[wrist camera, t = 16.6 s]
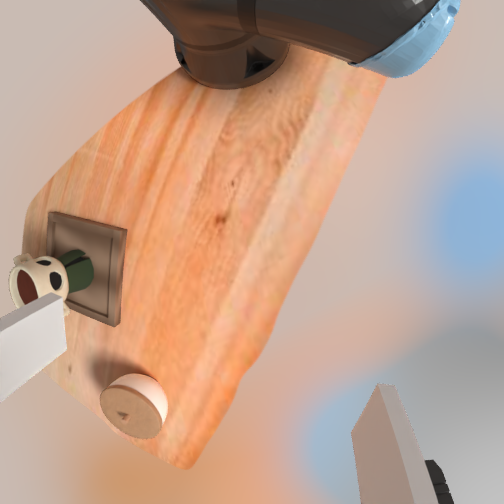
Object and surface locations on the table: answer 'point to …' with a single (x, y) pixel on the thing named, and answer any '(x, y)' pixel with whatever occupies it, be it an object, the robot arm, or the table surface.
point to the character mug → (49, 277)
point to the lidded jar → (135, 405)
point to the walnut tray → (103, 260)
